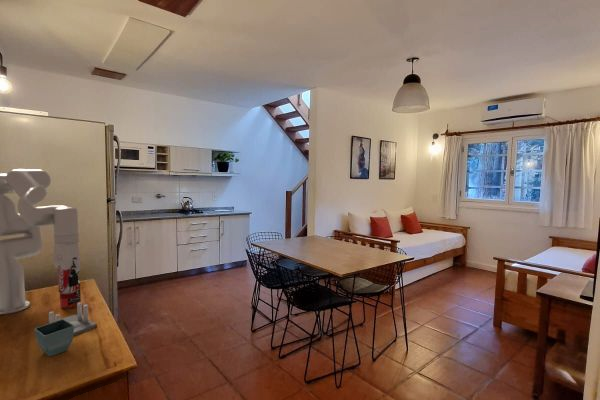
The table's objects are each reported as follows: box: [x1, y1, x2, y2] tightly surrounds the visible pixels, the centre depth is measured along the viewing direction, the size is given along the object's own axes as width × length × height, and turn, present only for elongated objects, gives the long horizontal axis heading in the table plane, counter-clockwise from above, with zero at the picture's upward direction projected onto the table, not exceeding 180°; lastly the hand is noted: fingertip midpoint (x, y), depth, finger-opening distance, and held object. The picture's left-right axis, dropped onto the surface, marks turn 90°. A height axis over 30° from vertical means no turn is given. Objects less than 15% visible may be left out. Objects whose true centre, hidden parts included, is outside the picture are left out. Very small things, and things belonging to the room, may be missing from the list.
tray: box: [39, 302, 98, 337], centre depth 125 cm, size 16×13×8 cm
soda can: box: [57, 265, 78, 294], centre depth 123 cm, size 6×6×12 cm
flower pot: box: [33, 318, 74, 357], centre depth 109 cm, size 9×9×9 cm
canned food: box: [59, 279, 82, 310], centre depth 146 cm, size 8×8×11 cm
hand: (68, 283), depth 124 cm, fingers closed on soda can, 6 cm apart
